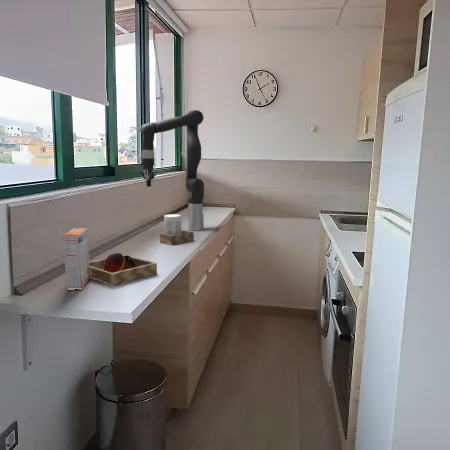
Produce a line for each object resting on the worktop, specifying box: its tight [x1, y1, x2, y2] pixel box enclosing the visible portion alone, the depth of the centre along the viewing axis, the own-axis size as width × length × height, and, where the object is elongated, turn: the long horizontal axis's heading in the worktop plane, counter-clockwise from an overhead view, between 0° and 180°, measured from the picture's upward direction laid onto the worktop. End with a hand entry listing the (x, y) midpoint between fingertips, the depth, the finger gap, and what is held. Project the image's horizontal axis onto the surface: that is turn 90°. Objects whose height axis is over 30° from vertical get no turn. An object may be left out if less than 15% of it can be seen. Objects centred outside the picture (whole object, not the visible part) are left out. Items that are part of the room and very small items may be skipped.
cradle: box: [159, 229, 195, 246], centre depth 245 cm, size 16×10×5 cm, turn 139°
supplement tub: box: [163, 213, 182, 235], centre depth 246 cm, size 10×10×15 cm
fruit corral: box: [89, 254, 158, 286], centre depth 180 cm, size 22×22×4 cm
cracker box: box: [62, 227, 91, 289], centre depth 164 cm, size 14×6×21 cm, turn 5°
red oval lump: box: [104, 252, 135, 273], centre depth 182 cm, size 12×12×15 cm
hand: (148, 186), depth 265 cm, fingers closed
